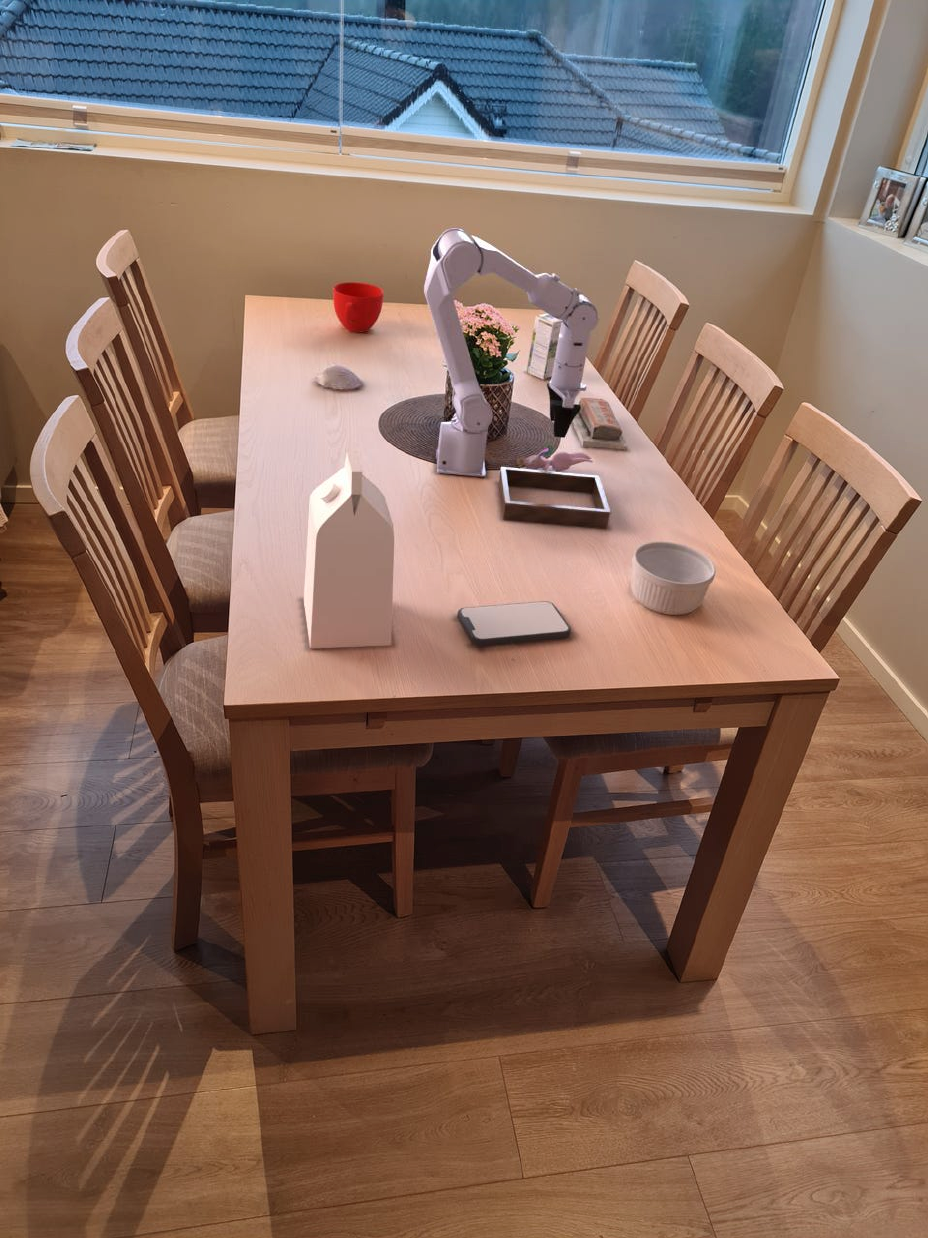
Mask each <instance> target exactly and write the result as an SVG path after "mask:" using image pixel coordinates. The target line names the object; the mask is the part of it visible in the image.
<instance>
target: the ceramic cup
mask: <svg viewBox="0 0 928 1238" xmlns="http://www.w3.org/2000/svg"><path fill="white" fill-rule="evenodd" d="M332 295H333V297H332V298H333V308H334V312H335V315H336V317H337V319H338V320H339V322H340V324H341V325H342V326H343V328H344V330H347V331H349V332H352V333H365V332H368V331H370V329H371V328H372V327H373V326H374V325H375V324H376V323H377V322H378V319H379V317H380V315H381V312H382V308H383V303H384V295H385V294H384V290H383V289H382V288H381V287H380V286H379V287H378V286H376V285H373V284H369V283H366V282H365V283H363V282H351V281H349V282H341V283H337V284H335V285H334V286H333V287H332Z"/></svg>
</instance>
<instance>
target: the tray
mask: <svg viewBox="0 0 928 1238" xmlns="http://www.w3.org/2000/svg"><path fill="white" fill-rule="evenodd" d="M509 487H514V488H515V487H517V488H527V489H539V490H549V491H550V490H551V491H560V492H571V493H572V492H573V493H582V494H591V495H592V498H593V502H594V505H595V508H594V507H583V506H572V505H561V504H549V503H539V502H538V503H537V502H528V501H513V500H511V497H510V490H509ZM498 490H499V499H500V506H501V514H502V515H501V516H502V520H504V521H513V522H524V523H537V524H546V525H547V524H549V525H557V526H559V525H560V526H571V527H581V528H583V527H584V528H595V529H605V530H606V529H607V528H608V523H609V519H610V515H611V513H612V512H611V508H610V505H609V502H608V500H607V496H606V493H605V490H604V486H603V483H602V480H601V477H600V476H599V475H595V474H584V473H573V472H563V471H558V472H556V471H554V470H553V471H552V470H551V471H550V470H543V469H542V470H540V469H537V470H531V469H526V468H521V469H520V468H518V467H509V466H500V469H499V478H498Z"/></svg>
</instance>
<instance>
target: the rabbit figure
mask: <svg viewBox="0 0 928 1238" xmlns="http://www.w3.org/2000/svg"><path fill="white" fill-rule="evenodd" d="M545 447H546V449H542V450H541V451H540V452H539V453H538V454H535V455H534V454H533V455H530V456H529V457H524V456H521V457H520V458H519V457H517V462H516V463H517V466H519V468H520V469H522V467H523V466H525V469H531V470H540V469H542V471H546V470H547V469H549V467H551V468H552V470H553V471H554V472H563V471H567V470H568V469H570V468H571V466H574V465H578V464H581V463H593V460H592V457H591V456H589V455H588V454H586V453H584V452H581V451H580V452H579V451H575V452H569V453H568V452H567V451H558V452H556V453H554V454H553V456H552V458H551V459H547V457H545V456H549V455H551V454H552V453H553V451H554V447H553V445H552V444H545ZM521 461H523V463H521Z"/></svg>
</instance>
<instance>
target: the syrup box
mask: <svg viewBox="0 0 928 1238" xmlns="http://www.w3.org/2000/svg"><path fill="white" fill-rule="evenodd" d="M564 322H565V321H564ZM561 323H562V320H559V319H556V318H555V317H553V316H551V315H550V314H548V313H543V314H539V315H535V319H534V326H533V331H532V337H531V342H530V347H529V348H530V350H529V355H528V360H527V367H526V374H529V375H531V376H533V377H536V378H538V379H541V380H547V379H550V378H552V372H553V367H554V361H555V356H556V350H557V344H558V339H559V334H560V329H561ZM565 323H566V322H565Z"/></svg>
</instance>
